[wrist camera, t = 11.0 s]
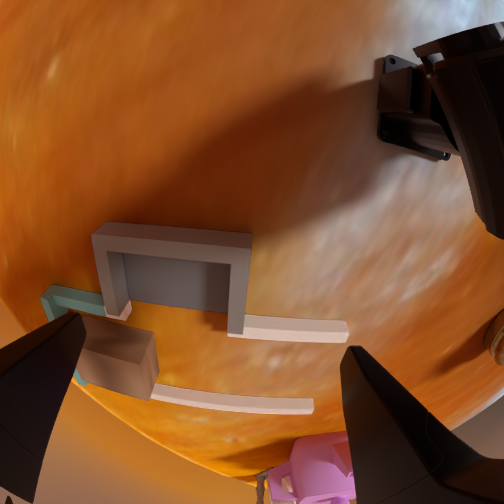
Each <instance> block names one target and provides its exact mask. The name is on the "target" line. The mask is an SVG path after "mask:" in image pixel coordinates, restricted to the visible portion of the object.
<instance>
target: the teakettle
mask: <svg viewBox="0 0 504 504" xmlns="http://www.w3.org/2000/svg"><path fill="white" fill-rule="evenodd" d="M288 475H289V477H290V483H291V488H292V491H293V492H288V493H282V478H284V477H286V476H288ZM268 479H269V487H270V494H271V501H296V504H327V503H330V504H350V503H349V501H348V500H349V499H354V498H356V492H355V484H354V476H353V469H352V461H351V455H350V448H349V442H348V435H347V430H346V431H339V432H332V433H325V434H318V435H311V436H305V437H300V438H297V439H296V441H295V443H294V446H293V449H292V452H291V455H290V459H289V461H287V462H285V463H283V464H281V465H279V466H277V467H275V468H273V469H271V470H269V471H268Z"/></svg>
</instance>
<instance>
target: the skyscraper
mask: <svg viewBox="0 0 504 504" xmlns="http://www.w3.org/2000/svg"><path fill="white" fill-rule="evenodd" d="M271 469H273V468H270V469H268V470H266V471H264V472H261V473H259V474H257V475H255V477H256V478H257V487H256V490H257V504H264V503H263V496H264V490H265V487H264V481H265V478H267V486H268V493H269V498H270V504H296V501H271V494H270V487H269V479H268V471H269V470H271ZM288 492H293V491H292V488H291V483H290V477H289V475H288V476H286V477H284V478H282V493H288Z"/></svg>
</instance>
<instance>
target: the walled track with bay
mask: <svg viewBox="0 0 504 504" xmlns="http://www.w3.org/2000/svg"><path fill="white" fill-rule="evenodd" d="M252 235H253V234H250V233H240V232H229V231H218V230H207V229H195V228H183V227H171V226H159V225H146V224H133V223H119V222H106V223H105V224H103V225H102V226H101V227H99V228H98V229H97V230H95V231H94V232H93V233H91V238H92V245H93V251H94V257H95V262H96V268H97V273H98V278H99V283H100V287H101V292H102V294H97V293H92V292H87V291H82V290H77V289H72V288H68V287H63V286H59V285H54V284H52V285H51V286H50V287H49V288H48V289H47V290H46V291H45V292H44V293H43V295H42V296H41V297H40V300H41V303H42V306H43V308H44V311H45V314H46V316H47V319H48V321H49V322H51V321H53V320H54V319H56V318H58V317H60V316H62V315H64V314H66V313H68V312H69V311H68V308H71V309H74V310H78V311H83V312H87V313H91V314H95V315H100V316H104V317H109V318H114V319H118V320H123V321H126V320H127V318H128V316H129V314H130V313H131V311H132V307H131V301H130V300H133V301H139V302H145V303H152V304H158V305H165V306H172V307H180V308H187V309H195V310H203V311H212V312H221V313H228V326H227V333H228V336H230V337H240V338H251V339H264V340H278V341H296V342H325V343H345V342H346V340H347V337H348V335H349V330H348V327H347V325H346V322H345V321H342V320H317V319H299V318H283V317H270V316H258V315H246V314H245V309H246V299H247V289H248V279H249V269H250V259H251V249H252ZM73 375H74V376H75V378H76V380H77V382H78V383H79V384H81V385H84V386H86V385H87V383H88V382H85V381H82V379H81V377H80V375H79V373H78V371H77V369H75V372H74V374H73ZM150 398H152V399H156V400H161V401H166V402H171V403H176V404H182V405H188V406H194V407H201V408H208V409H216V410H225V411H235V412H247V413H264V414H312V412H313V410H314V404H313V398H271V397H254V396H241V395H230V394H221V393H212V392H205V391H198V390H191V389H185V388H179V387H173V386H168V385H162V384H157V383H155V385H154V388H153V391H152V394H151V397H150Z"/></svg>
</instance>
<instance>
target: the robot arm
mask: <svg viewBox="0 0 504 504" xmlns="http://www.w3.org/2000/svg"><path fill="white" fill-rule="evenodd" d="M413 51H414V52H415V54H416V55H417V57H418V58H419V57H420V59H421V61H422V63H423V64H420V65H417V64H414V63H412V62H409V61H407V60H404V59H402V58H399V57H397V56H394V55H388V56H386V57H385V58H384V63H383V75H381V76H380V81H379V93H378V104H377V109H378V111H379V121H378V129H377V136H378V138H379V139H380V140H381V141H384V142H387V143H391V144H395V145H398V146H402V147H405V148H408V149H412V150H415V151H418V152H421V153H424V154H427V155H430V156H433V157H436V158H439V159H442V160H445V161H447V160H449V158H450V156H451V154H454V155H458V156H461V159H462V162H463V165H464V169H465V172H466V175H467V179H468V183H469V186H470V190H471V194H472V199H473V203H474V208H475V212H476V213H477V214H478V216H479V217H480V219H481V220H482V221H483V222H484V223H485V226H486V230H487V231H488V232H490V233H491V234H493V235H494V236H496V237H498V238H500V239H503V240H504V22H498V23H494V24H489V25H485V26H481V27H477V28H473V29H469V30H465V31H462V32H459V33H455V34H452V35H449V36H446V37H443V38H440V39H437V40H434V41H431V42H429V43H426V44H423V45H421V46H418V47H416V48H413ZM389 59H391V60H392V61H393V64H391V63H390V62H389ZM384 131H385V132H386V134H387V136H386V137H385V138H384V137H383V132H384ZM444 152H445V156H444ZM86 335H87V332H86V328H85V325H84V322H83V319H82V317H81V315H80V314H79V313H76V312H71V311H70V312H68V313H66V314H64V315H62V316H60V317H58V318H56V319H54V320H53V321H51V322H49V323H47V324H45V325H43V326H41V327H39V328H38V329H36V330H34V331H32V332H30V333H28V334H26V335H25V336H23V337H21V338H19V339H17V340H16V341H14V342H12V343H10V344H8V345H7V346H5V347H3V348H1V349H0V504H13V503H12V500H11V498H10V497H9V496H8V492H10V493H13V494H14V495H16V496H18V497H20V498H22V499H23V500H25V501H27V502H29V503H31V504H32V503H33V501H34V497H35V492H36V487H37V483H38V478H39V474H40V470H41V466H42V463H43V462H42V461H43V459H44V455H45V452H46V448H47V445H48V442H49V439H50V435H51V432H52V429H53V426H54V423H55V421H56V418H57V415H58V412H59V410H60V407H61V404H62V401H63V399H64V396H65V394H66V392H67V389H68V387H69V384H70V382H71V379H72V377H73V374H74V372H75V369H76V366H77V363H78V360H79V357H80V354H81V351H82V348H83V345H84V342H85V339H86ZM340 375H341V388H342V403H343V412H344V418H345V423H346V429H347V435H348V442H349V448H350V455H351V461H352V469H353V476H354V484H355V492H356V501H357V504H504V459H492V458H487V457H485V456H483V455H481V454H479V453H478V452H476V451H475V450H474V449H472V448H471V447H469V445H467V444H466V443H465V442H463V441H462V440H461V439H460V438H458V437H457V436H456V435H455V434H453V433H452V432H451V431H450V430H449V429H447V428H446V427H445V426H444V425H443V424H442V423H441V422H440V421H439V420H437V419H436V418H435V417H434V416H433V415H432V414H431V413H430V412H428V410H427V409H426V408H425V407H424V406H423V405H422V404H421V403H420V402H419V401H418V400H417V399H416V398H415V397H414V396H413V395H412V394H411V393H410V392H409V391H407V390H406V389H405V388H404V387H403V386H402V385H401V384H400V383H399V382H398V381H397V380H396V379H395V378H394V377H393V376H392V375H391V374H390V373H389V372H388V371H387V370H386V369H385V368H384V367H383V366H382V365H381V364H379V363H378V362H377V361H376V360H375V359H374V358H373V357H372V356H371V355H370V354H369V353H368V352H367V351H366V350H365V349H364V348H363V347H362V346H349V347H348V348H347V350H346V352H345V354H344V357H343V359H342V361H341V364H340Z"/></svg>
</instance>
